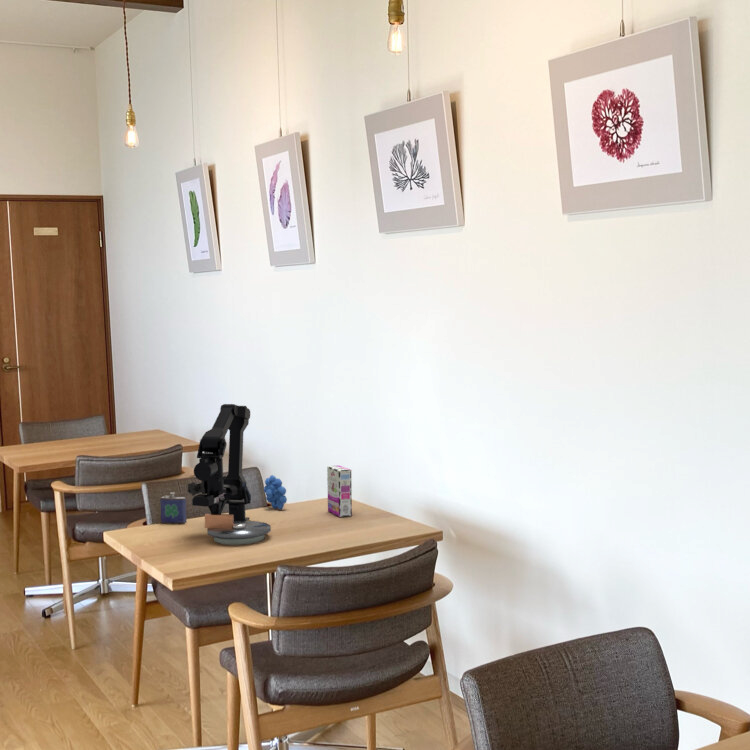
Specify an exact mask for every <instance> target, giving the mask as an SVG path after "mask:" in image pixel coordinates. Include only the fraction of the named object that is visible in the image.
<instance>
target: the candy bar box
mask: <svg viewBox="0 0 750 750" xmlns="http://www.w3.org/2000/svg"><path fill="white" fill-rule="evenodd" d="M326 468H327V470H326V471H327V473H326V475H327V512H329V513H330V514H332V515H333V516H336V517H338V518H345V517H346V518H347V517H352V516H353V513H352V512H353V511H352V510H353V508H352V506H353V505H352V504H353V502H352V492H353V490H352V469H350V468H347V467H344V466H342V465H328V466H327V467H326Z"/></svg>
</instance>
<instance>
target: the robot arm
mask: <svg viewBox="0 0 750 750" xmlns="http://www.w3.org/2000/svg"><path fill="white" fill-rule="evenodd" d="M219 409H220V410H219V411H220V412H219V413H218V416H217V417H216V419H215V421H214V424H213V426H212V427H211V429H209V430H206V431H205V432H204V434H203V436H202V437H201V438H200V439H199V444H198V449H197V453H196V454H197V455H196V458H197V459H198V463H196V464H195V466H194V468H193V475H194V477H195V478H196V479H197V480H199V481H200V482H198V483H196V482H194V481H193V482H191V483H187V493H188V494H191V497H192V498H191V506H195V507H208V509H209V512H210V514H223V510H224V508H225V505H227V507H228V508H227V509H228V514H233V515H234V521H249V520H250V517H248V516H246V505H248V504H249V505H250V504H251V501H252V500H251V499H252V498H251V497H252V496H251V493H250V491H249V489H248V487H247V486H248V485H247V480H246V478H245V477H244V475H243V458H244V457H243V454H244V452H243V451H244V432H245V430H246V428H247V427H248V426H249V424H250V423H249V421H250V419H251V410H250V408H248V407H247V405H238V404H233V403H223V404H221V406H220V408H219ZM228 431H229V440H228V466H227V467H228V468H227V470H228V471H227V475H224V465H223V464H224V463H223V458H224V455H225V452H226V449H227V442H226V441H227V440H226V435H227V433H228Z"/></svg>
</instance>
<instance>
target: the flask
mask: <svg viewBox="0 0 750 750" xmlns="http://www.w3.org/2000/svg"><path fill="white" fill-rule="evenodd" d="M175 494H176V492H175V491H173V492H169V495H167V494H165V495H164V496H161V497H160V498H159V500H160V503H159V505H160V524H162V525H163V524H166V525H168V524H167V523H171V524H170V525H186V524H187V519H188V518H187V499H186V497H185V496H175ZM185 523H186V524H185Z"/></svg>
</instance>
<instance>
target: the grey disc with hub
mask: <svg viewBox="0 0 750 750" xmlns="http://www.w3.org/2000/svg"><path fill="white" fill-rule="evenodd" d="M204 528H205V529H206V531H207V533H206V535H208V536H210V537H212V538H214V537H215V538H221V539H245V538H253V537H258V536H262V535H265V536H266V535H267V534H268V533H269V534H270V532H271V531H272V529H271V528H272V527H271V524H269V523H267V522H263V521H255V520H246V521H234V515H233V514H229V513H227V514H226V513H225V514H224V513H221V514H211V513H205V514H204Z"/></svg>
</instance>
